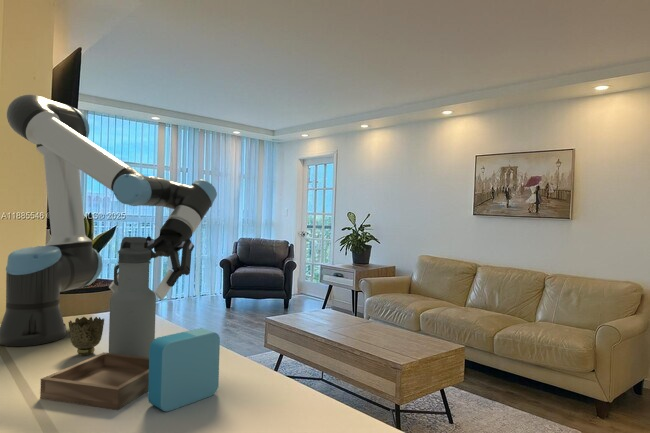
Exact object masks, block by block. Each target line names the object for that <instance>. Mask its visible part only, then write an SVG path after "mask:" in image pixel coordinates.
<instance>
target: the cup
mask: <svg viewBox="0 0 650 433" xmlns="http://www.w3.org/2000/svg"><path fill="white" fill-rule="evenodd" d="M74 319H75V321H72V320H69V321H68V330H69V337H70V342H71V345H72V346H73V347H74V348H76V349H77V350H76V353H77V355H79V356H89V355H93V354H94V353H95V350H96V348H95V347H96V346H97V345H99V344H100V342H101V340H102V336H103V332H104V331H103V330H104V324H105V318H102V319H101V317H98V316H95V317H94V318H93V317H92V316H90V317H89V318H87V317H86V316H83V317H81V318H79V317H76V318H74Z"/></svg>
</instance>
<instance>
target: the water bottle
mask: <svg viewBox="0 0 650 433" xmlns="http://www.w3.org/2000/svg"><path fill="white" fill-rule="evenodd" d="M146 238H147V237H143V236H124V237H123V238H122V239H121V243H120V247H119V250H118V251H117V254H118V261H119V262H118V261H117V264H116V265H115V266H114V268H113V280H114V284H115V285H117V286H118V290H117V291H115V292H114V293H113V292H112V294H111V295H110V299H109V323H108V324H109V328H108V353H113V354H121V355H130V356H138V357H147V358H149V351H150V345H151V343H152V341H153V340H154V339H156V311H157V310H156V308H157V307H156V306H157V295H156V294H155V293H154V292H155V291H153V290H152V289H150V264H152V262H151V260H152V259H150V258H151V254H150V253H151V250H149V249H147V248H144V243H146ZM118 272H119V280H118V281H117V273H118Z"/></svg>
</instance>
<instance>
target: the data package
mask: <svg viewBox="0 0 650 433" xmlns="http://www.w3.org/2000/svg"><path fill="white" fill-rule="evenodd" d="M220 340H221V338H220V335H219V334H218V333H217V332H215V331H212V330H208V329H205V328H202V327H200V328H196V329H192V330H191V329H190V330H187V331H186V330H185V331H181V332H176V333H172V334H168V335H162V336H158V337H155V339H154V340H153V341H152V343H151V345H150V351H149V386H148V391H147V394H148V395H147V399H148V403H149V404H151V405H152V406H154V407H156V408H158V409H160V410H161V411H163V412H167V413H168V412H172V411H174V410H177V409H179V408H182V407H185V406H188V405H190V404H193V403H196V402H198V401H201V400H205V399H207V398H209V397H212V396H214V395H215V394H216V393H217V391H218V389H219V382H220V380H219V379H220V378H219V377H220V374H219V373H220V345H221V344H220V342H221V341H220Z"/></svg>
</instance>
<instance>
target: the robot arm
mask: <svg viewBox="0 0 650 433" xmlns="http://www.w3.org/2000/svg"><path fill="white" fill-rule="evenodd" d="M6 119H7V122H8V124H9V126H10V128H11V129H12V130H13V131H14V132H15V133H16V134H17V135H19V136H21V137H23V138H24V139H26V140H27V141H28V142H30V143H31V144H34V145H36V151H37V152H39V153H40V154H41V155H43V160H44V161H43V164H44V172H45V181H46V184H45V185H46V194H47V202H48V204H47V206H48V214H49V224H50V235H51V236H50V237H51V238H50V239H49V241H48V242H47V243H46V244H45V245H40V246H39V245H37V246H34V247H33V246H29V247H23V248H20V249H16V250H13V251H12V252H10V254H9V255H8V256H7V263H6V267H5V271H6V276H5V277H6V278H5V284H6V285H5V288H6V289H5V313H4V315H3V317H2V320H1V322H0V323H1V324H0V346H5V347H29V346H38V345H42V344H48V343H53V342H56V341H58V340H61V339H64V338H65V337H67V336H66V335H67V325H66V323H64V318H63V317H64V316H63V314H62V311H61V306H60V293H63V292H66V291H70V290H76V289H81V288H84V287H86V286H89V285H92V283H95V281H96V280H97V279H98V278H99V276H100V275H101V273H102V270H103V258H102V256H101V254H100V252H98V250H97V249H95V248H93V241H92V239H91V238H89V237H88V236H87V235H86V229H85V219H84V218H85V216H84V207H83V206H84V205H83V197H82V196H83V195H82V186H81V174H80V171H81V172H83V173H84V174H86V175H87V176H89V177H90V178H92V179H94V180H95V181H97V182H98V183H100V184H101V185H103V186H104V187H105V188H107V189H109V190H110V191H112V193H113V195H114V197H115V198H116V200H117V201H118V202H120V204H123V205H126V206H127V205H128V206H131V207H132V206H133V207H138V206H142V207H143V206H146V207H147V206H149V207H162V208H163V207H164V208H167V209H170V210H172V212H171V214H170V215H169V216H168V218H167V219H166V221H165V222H164V224H163V225H162V226H161V228H160V230H159V236H158V237H157V238H152V237H151V236H147V237H145V238H146V243H144V248H147V249H149V250H151V253H150V254H151V258H150V259H151V260H152V259H157V258H159V257H166V258H169V257H170V263H171V269H169V270H168V271H166V272H167V273H166V274H165V275H164V277H163V278H162V280H161V281H160V283H159V285H158V286H157V288H156V289H155V291H153V292H154V293H155V295H156V298H158V299H159V301H163V300H164V299H165V297H166V296H167V295H168V293H169V291H170V289H171V288H173V287H174V286H175V285H176V283H177V282H178V280H179V278H180V277H182V276H183V275H185V276H188V275H190V273H191V263H192V252H193V250H194V248H195V245H194V243H193V241H192V240H191V238H192V236H193V234H194V233H195V231H196V230H197V228H198V227H199V225H200V224H201V223H202V221H203V219H204V217H205V215H206V214H207V213H208V211H210V209H211V207H212V206H213V204H214V202H215V199H216V198H217V194H218V192H217V189H216V187H215V186H214V185H213V184H212V183H210V182H209V181H208V180H205V179H197V180H195V181H194V182H192V183H191V185H190V184H186V183H180V182H176V181H172V180H170V179H165V178H164V177H159V176H154V175H149V176H146V175H144V174H142V173H141V172H139V171H137V170H136V169H134V168H133V167H131V166H130V165H128V164H127V163H125V162H124V161H122V160H120V159H119V158H118V157H116V156H115V155H113V154H112V153H110V152H108V151H107V150H106V149H104V148H102V147H101V146H100V145H97V144H96V143H94V142H93V141H91V140H90V139H88V137H89V135H90V124H89V121H88V119H87V117H86V116H85V114H84V113H82V112H81V111H80V110H79V109H77V108H75V107H73V106H71V105H69V104H68V103H67V104H66V103H61V102H58V101H54V100H52V99H49V98H46V97H44V96H40V95H37V94H24V95H20V96H18V97H16V98H14V99H13V100H12V101H11V102H10V104H9V105H8V106H7V110H6ZM181 250H182V251H181ZM179 251H181V260H180V256H179ZM118 262H119V261H117V263H118ZM118 280H119V271H117V281H118ZM108 289H110V290H111V292H112V294H113V293H114V292H115V291H117V290H118V286H117V285H115V284H114V279H113V280H112V281H111V283H110V284H109V286H108Z"/></svg>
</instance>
